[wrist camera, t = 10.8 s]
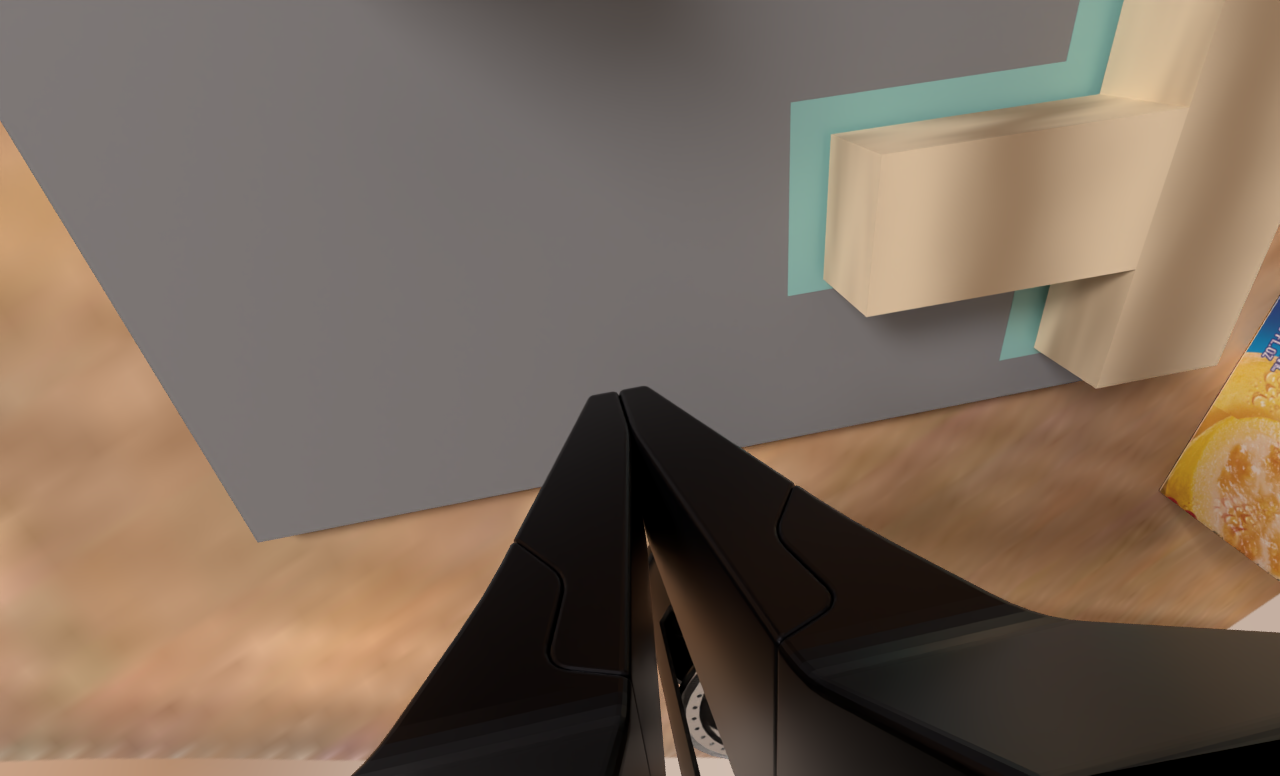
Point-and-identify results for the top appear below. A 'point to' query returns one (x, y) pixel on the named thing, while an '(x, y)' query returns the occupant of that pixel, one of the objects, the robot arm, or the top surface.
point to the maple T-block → (1085, 197)
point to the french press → (681, 683)
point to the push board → (508, 219)
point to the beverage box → (1239, 455)
